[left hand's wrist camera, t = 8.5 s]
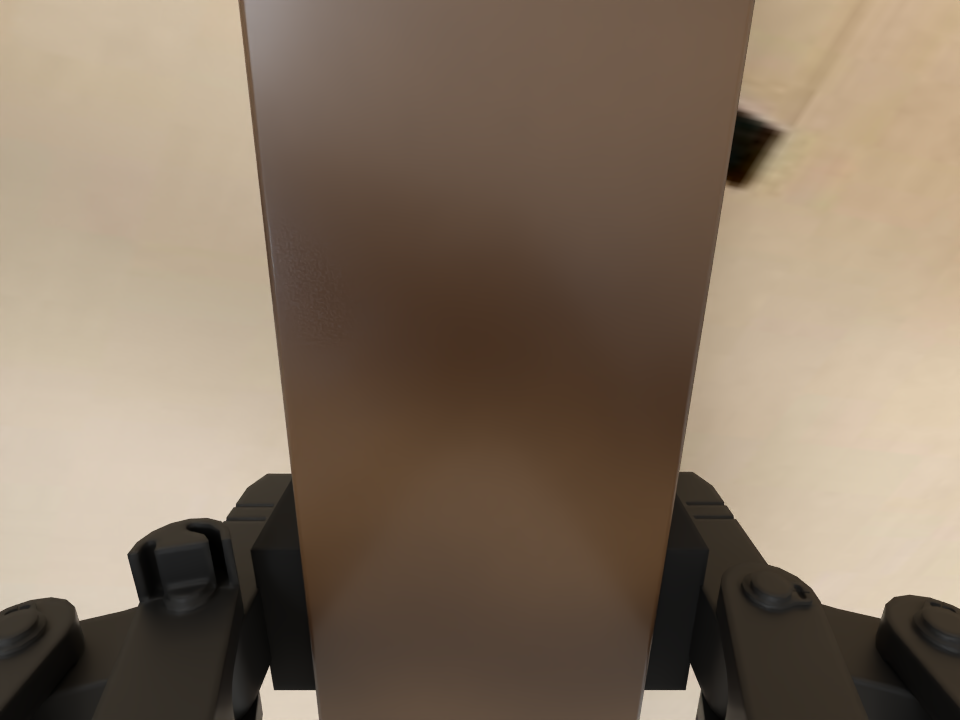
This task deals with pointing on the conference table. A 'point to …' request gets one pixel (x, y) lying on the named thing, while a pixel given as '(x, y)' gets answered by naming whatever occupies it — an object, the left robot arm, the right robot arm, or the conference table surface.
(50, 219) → the conference table surface
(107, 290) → the conference table surface
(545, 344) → the beam
